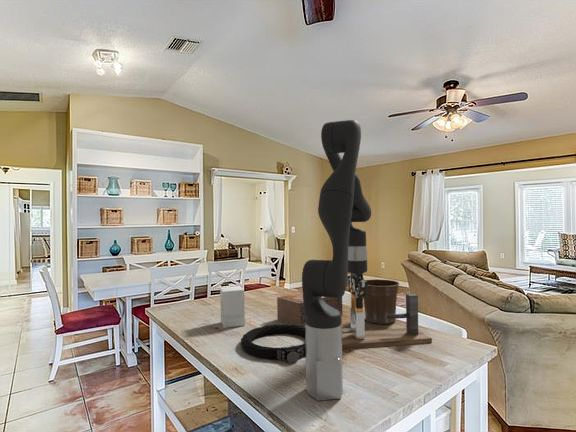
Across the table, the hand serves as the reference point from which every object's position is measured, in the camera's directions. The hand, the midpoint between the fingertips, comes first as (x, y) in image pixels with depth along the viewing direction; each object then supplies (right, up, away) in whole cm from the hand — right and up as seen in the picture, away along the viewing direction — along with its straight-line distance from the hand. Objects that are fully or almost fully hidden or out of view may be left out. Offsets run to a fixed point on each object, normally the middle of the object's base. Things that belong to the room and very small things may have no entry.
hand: (357, 306), depth 123 cm
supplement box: (-48, -13, +22) cm, 54 cm away
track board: (+8, -12, +1) cm, 14 cm away
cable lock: (-27, -13, -3) cm, 30 cm away
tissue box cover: (-15, -13, +30) cm, 36 cm away
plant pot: (+15, -12, +24) cm, 31 cm away
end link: (-3, -11, 0) cm, 11 cm away
